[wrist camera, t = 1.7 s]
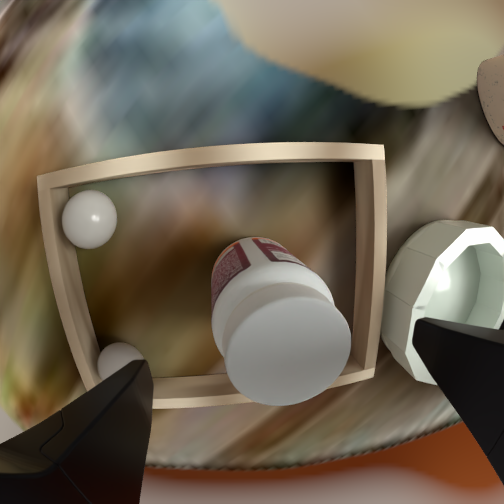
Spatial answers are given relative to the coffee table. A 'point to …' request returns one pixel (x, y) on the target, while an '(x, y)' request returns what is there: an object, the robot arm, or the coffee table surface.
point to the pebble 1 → (89, 219)
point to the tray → (363, 155)
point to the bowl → (442, 285)
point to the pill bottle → (275, 324)
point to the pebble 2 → (116, 358)
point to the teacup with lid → (492, 93)
